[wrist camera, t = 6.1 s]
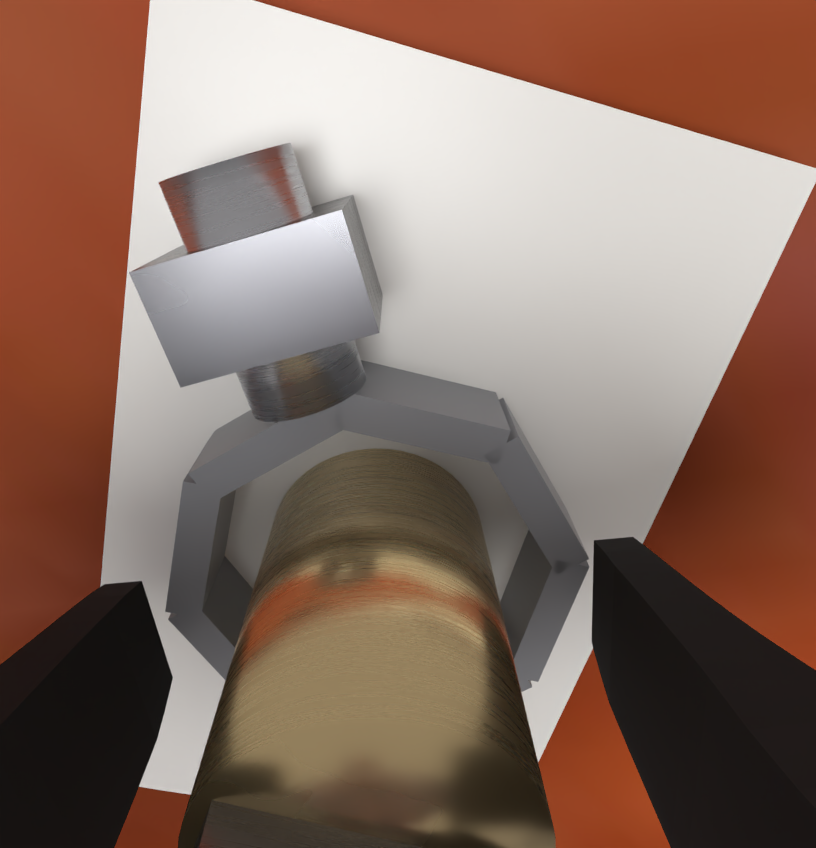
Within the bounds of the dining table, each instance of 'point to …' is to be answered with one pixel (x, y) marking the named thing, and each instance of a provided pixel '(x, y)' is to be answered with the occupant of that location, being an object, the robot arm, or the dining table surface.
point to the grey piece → (263, 286)
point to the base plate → (435, 326)
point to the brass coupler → (371, 678)
